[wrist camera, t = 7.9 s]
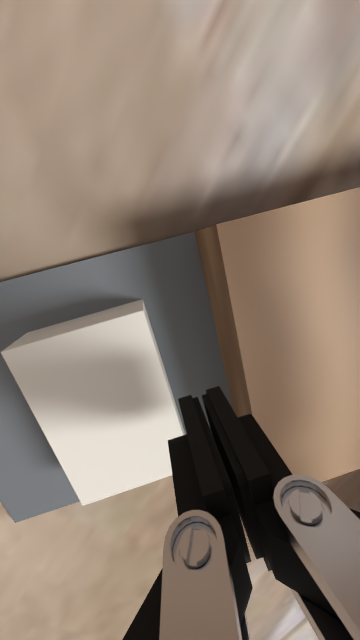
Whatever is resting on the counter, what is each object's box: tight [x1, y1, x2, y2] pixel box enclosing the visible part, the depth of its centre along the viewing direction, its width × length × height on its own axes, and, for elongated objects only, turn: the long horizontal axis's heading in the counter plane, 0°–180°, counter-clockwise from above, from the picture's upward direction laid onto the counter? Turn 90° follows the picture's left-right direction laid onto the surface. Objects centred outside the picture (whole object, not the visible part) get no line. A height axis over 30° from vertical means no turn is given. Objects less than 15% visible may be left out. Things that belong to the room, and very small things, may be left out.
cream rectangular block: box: [1, 299, 185, 506], centre depth 13 cm, size 6×9×2 cm, turn 15°
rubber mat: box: [0, 232, 234, 523], centre depth 14 cm, size 15×14×1 cm
